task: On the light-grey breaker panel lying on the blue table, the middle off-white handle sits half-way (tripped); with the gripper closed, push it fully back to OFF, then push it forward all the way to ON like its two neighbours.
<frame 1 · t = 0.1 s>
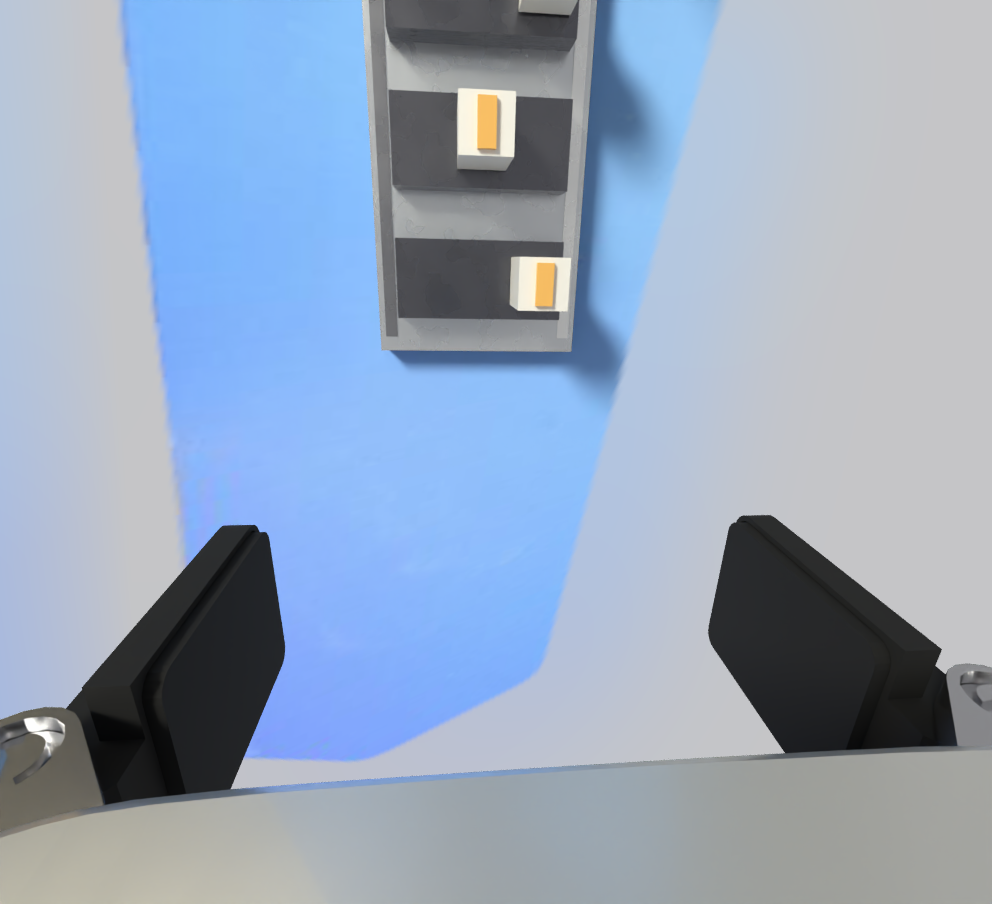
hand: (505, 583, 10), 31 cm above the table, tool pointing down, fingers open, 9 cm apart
handle 1: (538, 283, 32), point 7 cm above the table, slide at 7.0 cm
handle mid: (484, 132, 29), point 7 cm above the table, slide at 3.5 cm
panel: (478, 155, 35), on the table
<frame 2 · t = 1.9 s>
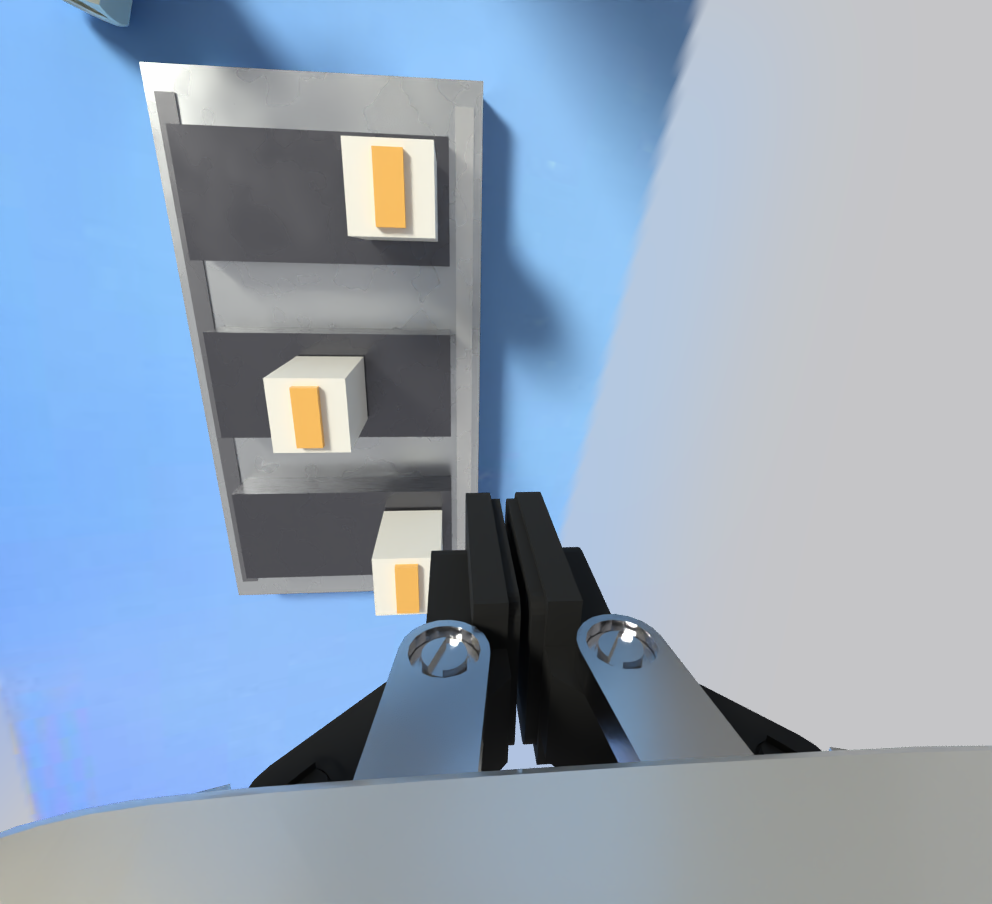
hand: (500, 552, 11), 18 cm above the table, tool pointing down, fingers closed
handle 2: (395, 195, 19), point 7 cm above the table, slide at 7.0 cm
handle 1: (410, 560, 25), point 7 cm above the table, slide at 7.0 cm
handle mid: (321, 402, 22), point 7 cm above the table, slide at 3.5 cm
panel: (349, 369, 28), on the table
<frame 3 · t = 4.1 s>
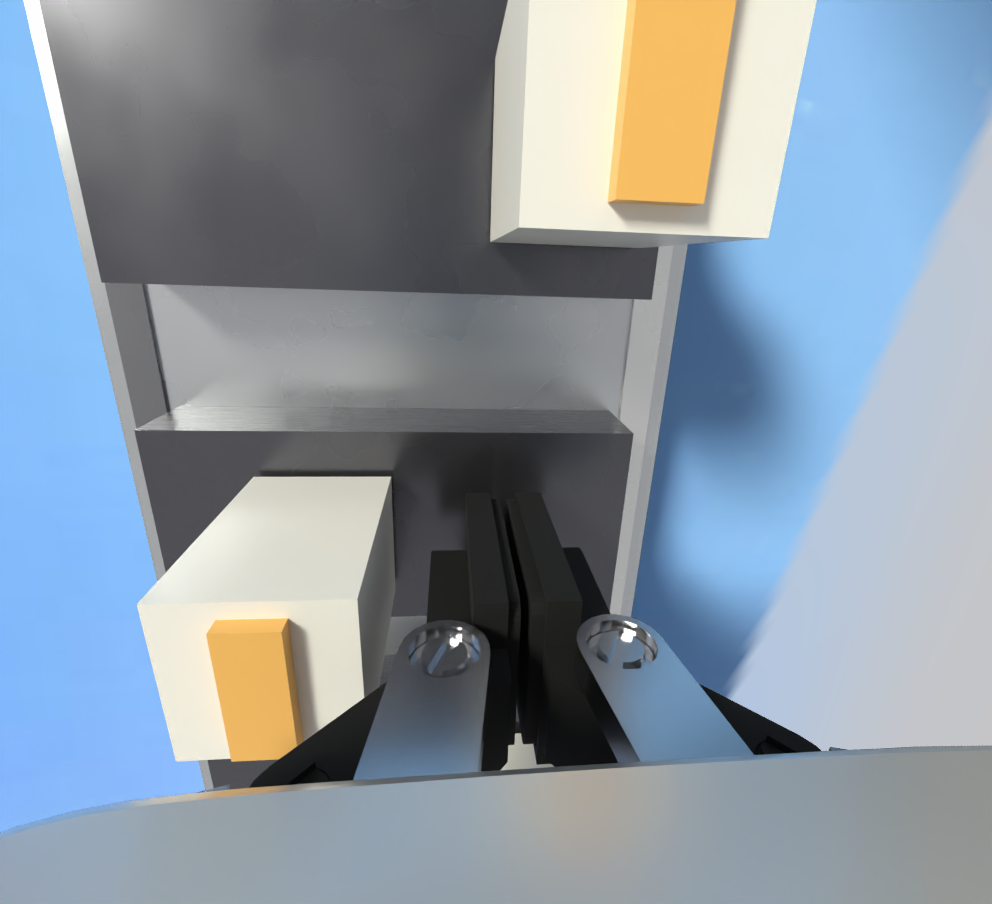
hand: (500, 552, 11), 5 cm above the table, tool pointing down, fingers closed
handle 2: (608, 128, 7), point 7 cm above the table, slide at 7.0 cm
handle 1: (538, 858, 13), point 7 cm above the table, slide at 7.0 cm
handle mid: (300, 598, 10), point 7 cm above the table, slide at 1.9 cm, touching gripper
panel: (410, 468, 16), on the table
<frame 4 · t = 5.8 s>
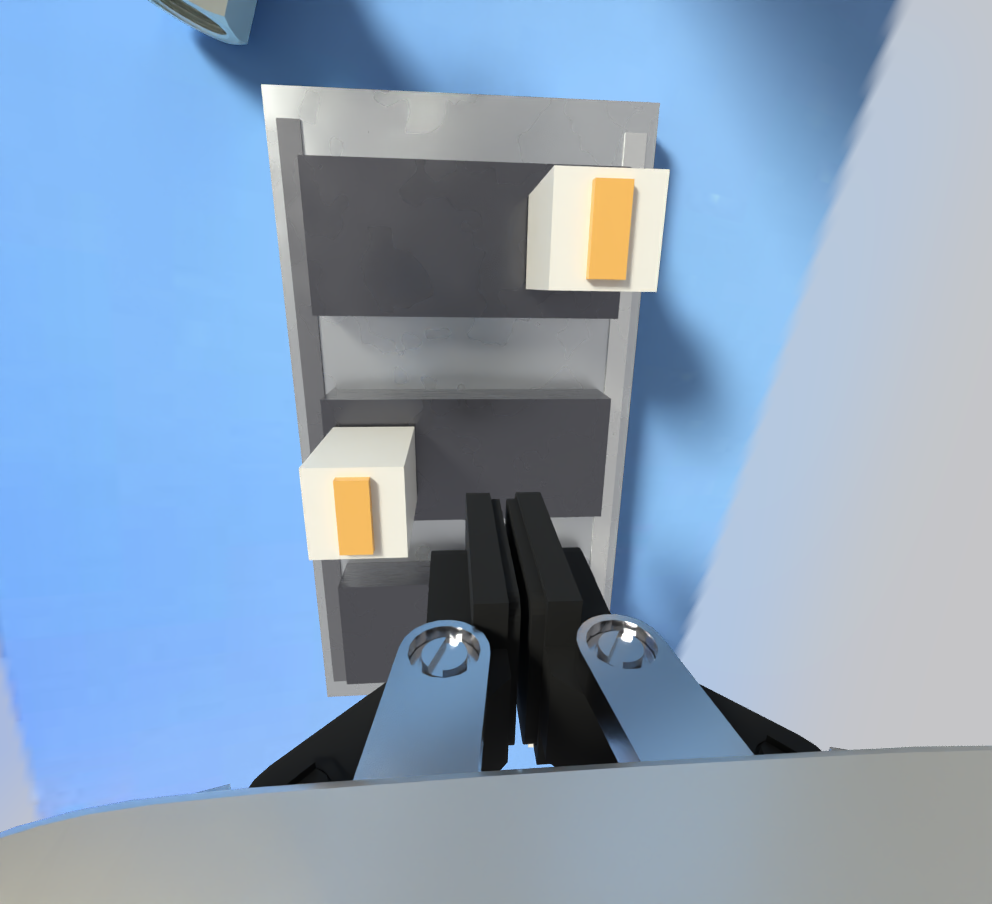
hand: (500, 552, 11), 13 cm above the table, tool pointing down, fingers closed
handle 2: (587, 238, 15), point 7 cm above the table, slide at 7.0 cm
handle 1: (559, 670, 20), point 7 cm above the table, slide at 7.0 cm
handle mid: (366, 488, 17), point 7 cm above the table, slide at -0.1 cm
panel: (466, 433, 24), on the table
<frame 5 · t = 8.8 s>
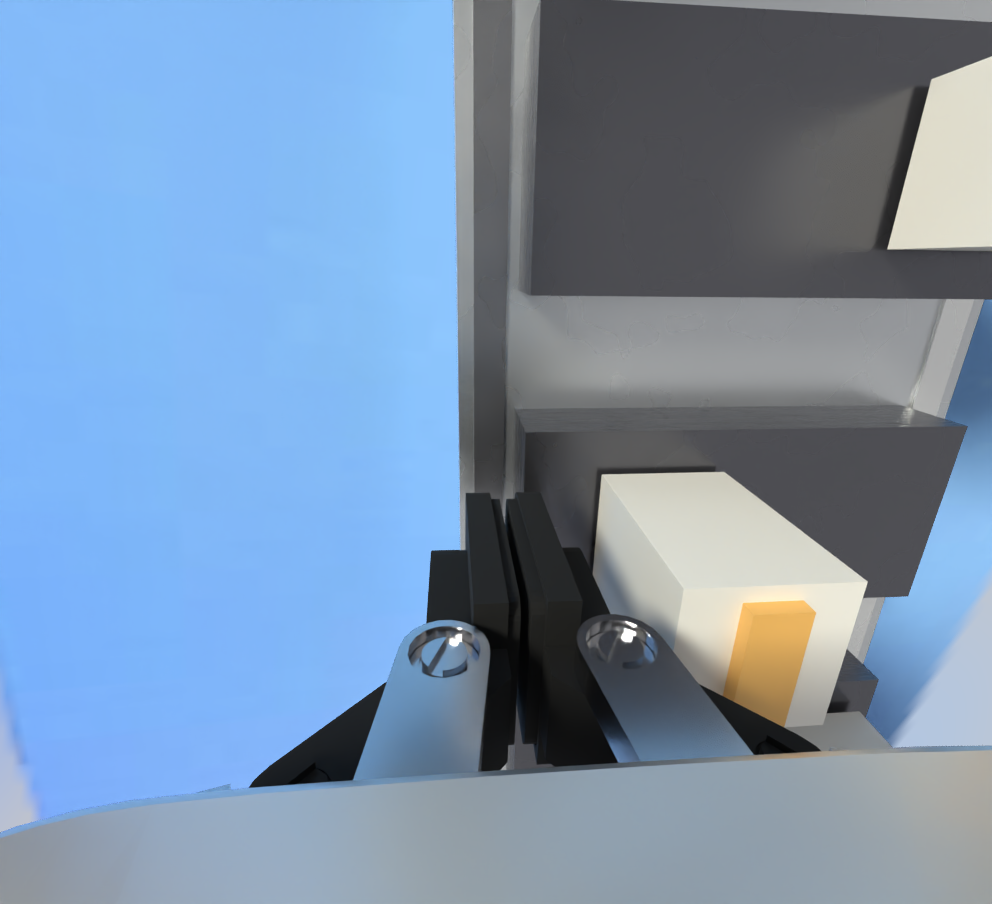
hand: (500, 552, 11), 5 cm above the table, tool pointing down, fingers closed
handle 1: (859, 831, 14), point 7 cm above the table, slide at 7.0 cm
handle mid: (700, 586, 10), point 7 cm above the table, slide at 1.3 cm, touching gripper
panel: (672, 464, 17), on the table
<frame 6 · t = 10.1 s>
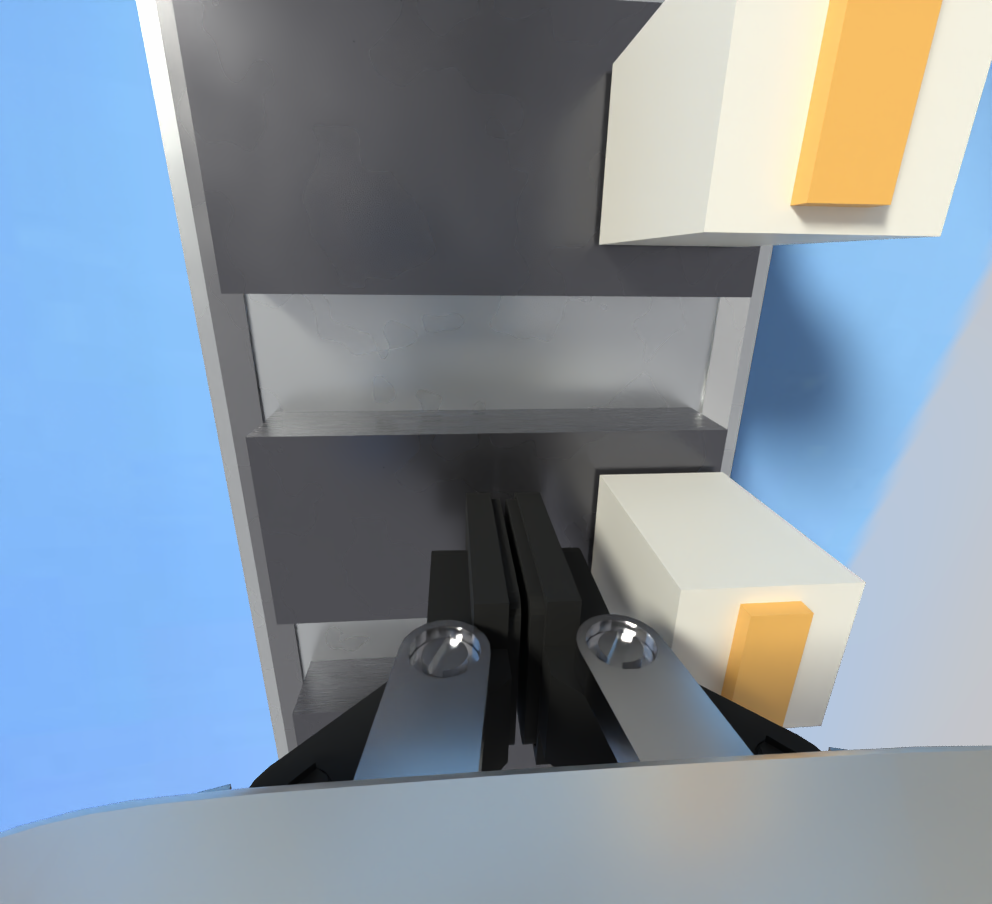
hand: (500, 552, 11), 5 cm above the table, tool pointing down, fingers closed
handle 2: (750, 131, 8), point 7 cm above the table, slide at 7.0 cm
handle mid: (698, 587, 10), point 7 cm above the table, slide at 7.4 cm, touching gripper
panel: (484, 468, 16), on the table
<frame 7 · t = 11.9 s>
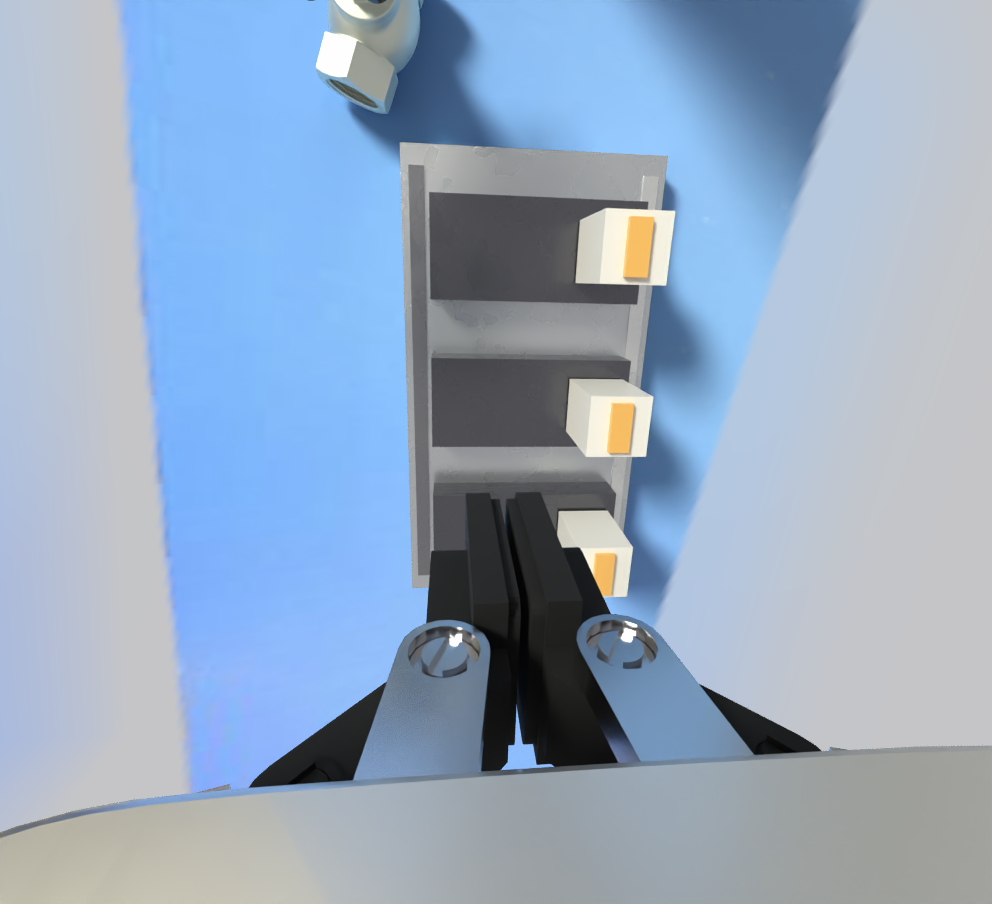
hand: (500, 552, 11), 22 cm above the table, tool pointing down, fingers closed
handle 2: (621, 250, 24), point 7 cm above the table, slide at 7.0 cm
handle 1: (591, 552, 29), point 7 cm above the table, slide at 7.0 cm
valve: (380, 41, 26), on the table
handle mid: (606, 416, 26), point 7 cm above the table, slide at 7.1 cm
panel: (521, 389, 32), on the table
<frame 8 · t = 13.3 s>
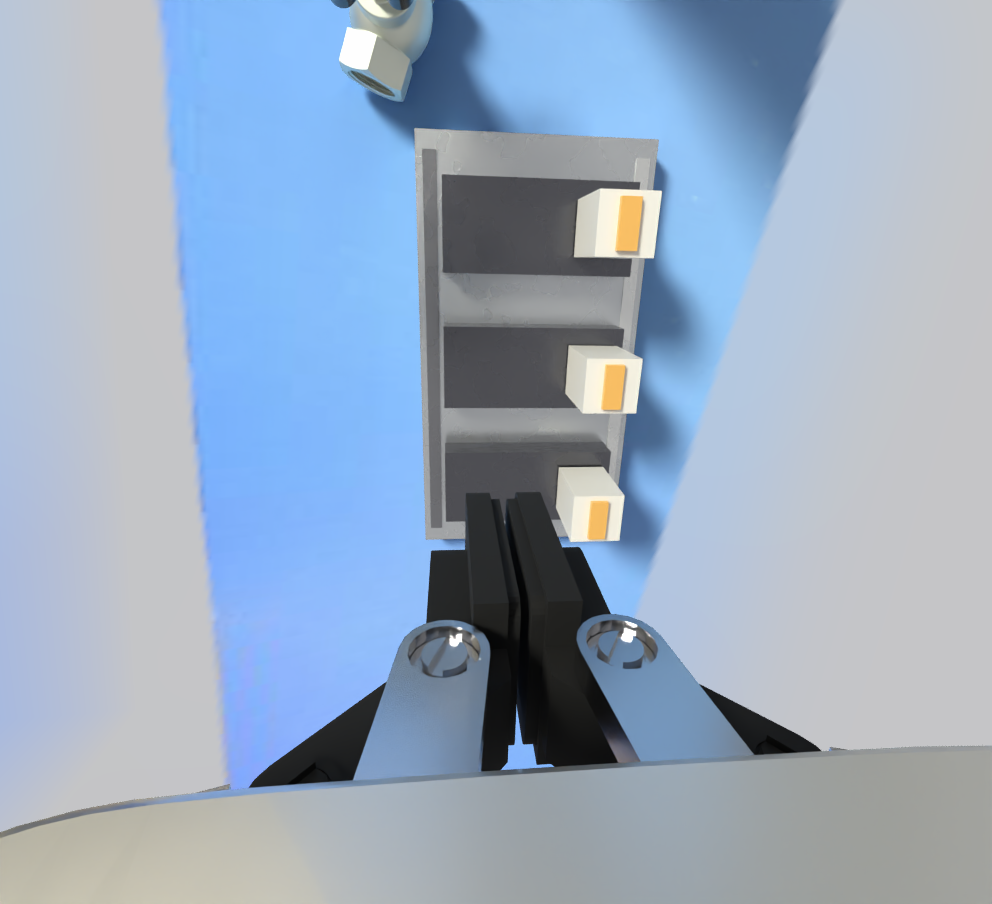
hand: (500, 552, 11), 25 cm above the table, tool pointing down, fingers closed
handle 2: (614, 227, 27), point 7 cm above the table, slide at 7.0 cm
handle 1: (588, 503, 32), point 7 cm above the table, slide at 7.0 cm
valve: (396, 33, 29), on the table
handle mid: (601, 378, 29), point 7 cm above the table, slide at 7.1 cm
panel: (524, 357, 35), on the table
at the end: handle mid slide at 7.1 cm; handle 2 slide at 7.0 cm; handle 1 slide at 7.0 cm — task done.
